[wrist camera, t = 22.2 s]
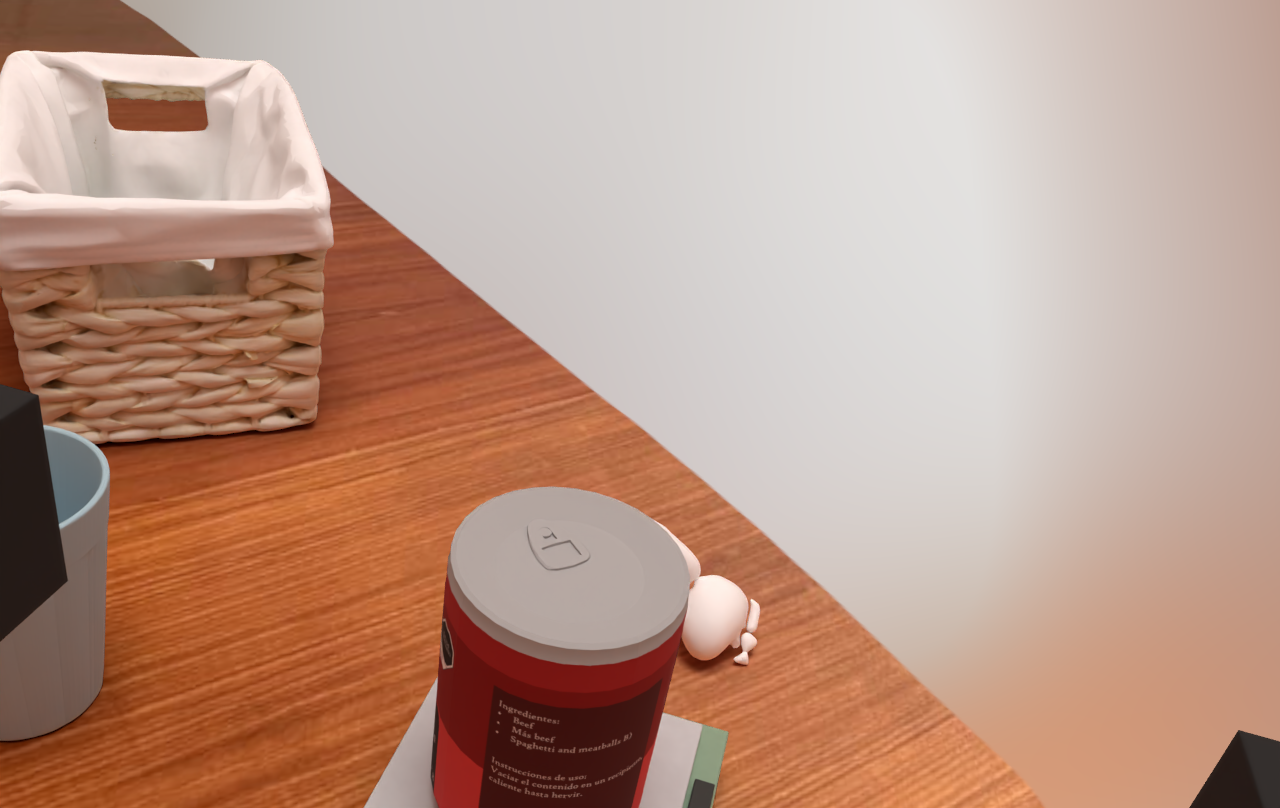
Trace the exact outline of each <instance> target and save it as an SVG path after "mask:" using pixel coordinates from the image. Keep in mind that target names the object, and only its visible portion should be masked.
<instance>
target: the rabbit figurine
mask: <svg viewBox="0 0 1280 808" xmlns="http://www.w3.org/2000/svg"><path fill="white" fill-rule="evenodd" d="M654 521H655V520H654ZM655 522H656V521H655ZM656 523H658V522H656ZM658 524H659V525H660V526H661V527H662V528H663V529H664V530H665V531H667V532H668V534H669V535H670V536H671V537H672V539H673V540H674V541H675V542H676V544H677V545H678V546H679V548H680V550H681V552H682V554H683V556H684V558H685V560H686V562H687V566H688V570H689V575H690V583H691V582H692V581H694V580H695V582H694V586H693V587H692V589H691V590H690V591H689V597H688V609H687V613H686V617H685V621H684V625H683V632H682V636H681V638H682V640H683V643H684V645H685V647H686V649H687V650H688V652H689V653H690V654H691V655H692V656H693V657H695V658H697V659H699V660H710V659H712V658H715V657H716V656H718V655H719V654H720V653H721V652H722V651H723V650H725V648H726V647H727V646H728V645H729V644H730V645H731V646H732V647H733V648H738V647H739V646H740V633H741V630H742V628H744V627H746V625H745V624H746V618H747V613H748V601H747V598H746V596H745V595H744V593H743V592H742V590H741V589H740V588H739V587H738V586H737V585H735V584H734V583H733V582H731V581H729V580H727V579H725V578H723V577H721V576H716V575H709V576H702V577H699V575H700V572H701V569H700V564H699V561H698V559H697V558H696V557H695V555H694V554H693V553H692V552H691V551H690V550H689V549H688V548H687V547H686V546H685V545H684V544H683V543H682V542H681V541H680V540H679V539H678V538H676V537H675V536H674V535H673V534H672V533H671V532H670V531H669V530H668V529H667V528H666V527H664V526H663V525H661V524H660V523H658ZM750 602H751V607H750V614H749V618H748V622H747V627H746V629H747V631H748V632H750V633H753V632H754V631H756V629H757V625H758V619H759V614H760V607H759V604H758V603H756V602H755V601H754V600H753V599H751V600H750ZM748 632H747V633H744V634H743V635H742V636H741V646H742V650H743V652H742V653H741V654H739V655H738V656H736V657H735V658H734V661H735V662H737V663H740V664H744V665H748V655H747V652H748V651H750V650H751V649H753V648H754V647H755V646H756V645H757V640H756V638H755V637H754V636H753V635H752V634H750V633H748Z"/></svg>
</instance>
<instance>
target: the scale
mask: <svg viewBox="0 0 1280 808" xmlns="http://www.w3.org/2000/svg"><path fill="white" fill-rule="evenodd" d="M437 683H438V677H437V679H436V681H435V682H434V684H433V686H432V688H431V689H430V691H429V693H428V695H427V697H426V698H425V700H424V702H423V704H422V705H421V707H420V709H419V711H418V712H417V714H416V716H415V718H414V720H413V721H412V723H411V725H410V727H409V728H408V730H407V732H406V734H405V735H404V737H403V739H402V741H401V743H400V744H399V746H398V748H397V750H396V751H395V753H394V755H393V757H392V758H391V760H390V762H389V764H388V766H387V767H386V769H385V771H384V773H383V774H382V776H381V778H380V780H379V781H378V783H377V785H376V787H375V789H374V790H373V792H372V794H371V796H370V797H369V799H368V801H367V803H366V804H365V806H364V808H439V807H438V804H437V802H436V799H435V796H434V793H433V788H432V782H431V759H432V746H433V733H434V721H435V708H436V695H437ZM728 734H729V733H728V732H727V731H724V730H720V729H717V728H714V727H710V726H707V725H703V724H700V723H697V722H693V721H690V720H687V719H683V718H680V717H676V716H673V715H670V714H666V713H662V717H661V721H660V725H659V729H658V734H657V738H656V742H655V746H654V750H653V754H652V758H651V762H650V766H649V770H648V774H647V778H646V782H645V786H644V790H643V794H642V798H641V802H640V805H639V808H712V807H713V802H714V798H715V793H716V789H717V784H718V779H719V775H720V770H721V766H722V761H723V757H724V752H725V748H726V743H727V739H728Z"/></svg>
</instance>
